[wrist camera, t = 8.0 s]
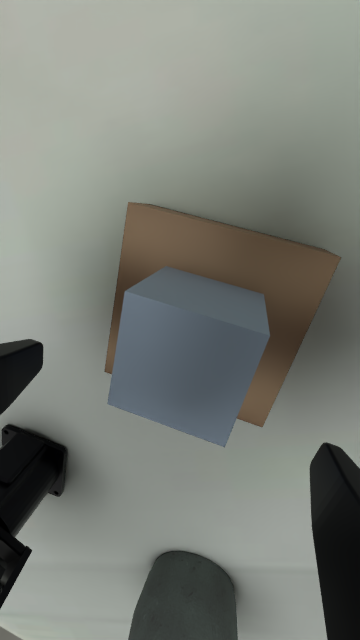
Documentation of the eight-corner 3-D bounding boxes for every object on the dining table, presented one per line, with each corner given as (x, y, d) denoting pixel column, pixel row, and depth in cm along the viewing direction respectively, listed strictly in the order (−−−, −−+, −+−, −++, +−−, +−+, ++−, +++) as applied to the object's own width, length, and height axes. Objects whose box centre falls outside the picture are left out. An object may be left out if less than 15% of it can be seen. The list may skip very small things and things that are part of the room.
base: (260, 396, 19) (262, 427, 16) (124, 350, 20) (104, 371, 17) (324, 249, 15) (341, 257, 12) (149, 204, 16) (128, 202, 13)
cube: (232, 378, 15) (224, 447, 11) (148, 350, 16) (107, 404, 11) (263, 294, 13) (270, 335, 9) (166, 266, 14) (125, 291, 9)
